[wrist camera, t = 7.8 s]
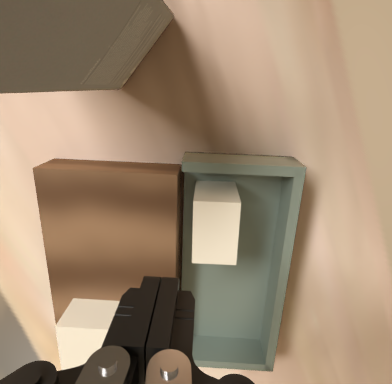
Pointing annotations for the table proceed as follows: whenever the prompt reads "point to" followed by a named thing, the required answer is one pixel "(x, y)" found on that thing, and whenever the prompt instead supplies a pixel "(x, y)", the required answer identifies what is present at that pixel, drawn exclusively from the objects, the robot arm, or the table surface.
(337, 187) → the table surface
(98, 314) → the cream square block
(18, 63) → the skincare box
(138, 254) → the walnut board
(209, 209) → the tile
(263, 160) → the tray
